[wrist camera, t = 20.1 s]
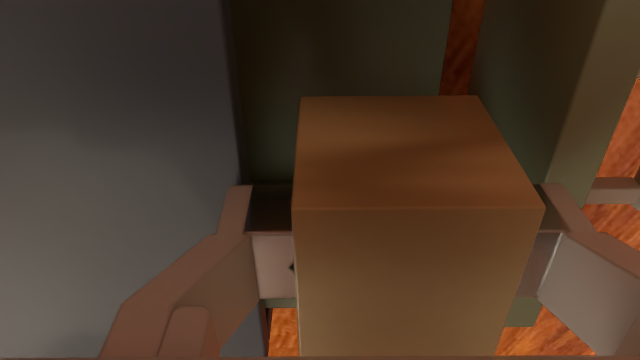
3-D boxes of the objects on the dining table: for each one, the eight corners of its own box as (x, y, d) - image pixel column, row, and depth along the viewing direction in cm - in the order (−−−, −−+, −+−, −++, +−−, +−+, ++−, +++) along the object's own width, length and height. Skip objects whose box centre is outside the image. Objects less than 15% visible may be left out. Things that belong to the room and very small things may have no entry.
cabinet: (263, -151, 14) (203, -139, 7) (285, 192, 21) (267, 366, 14) (-200, -147, 14) (-730, -131, 7) (-17, 193, 21) (-182, 367, 14)
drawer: (700, -128, 13) (967, -103, 8) (574, 192, 20) (671, 327, 14) (110, -123, 13) (-37, -96, 8) (182, 194, 20) (129, 328, 15)
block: (477, 94, 11) (547, 207, 7) (450, 227, 13) (494, 358, 10) (299, 95, 11) (290, 208, 7) (304, 228, 13) (299, 359, 10)
